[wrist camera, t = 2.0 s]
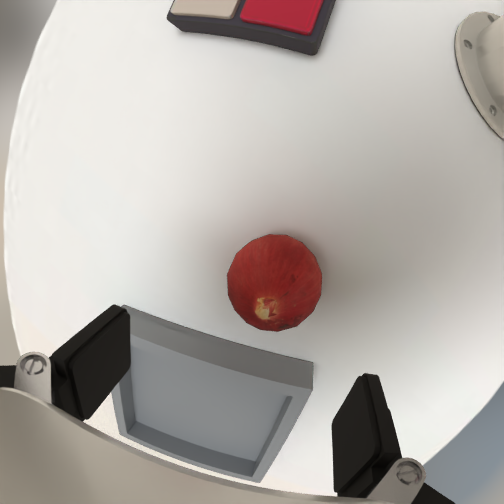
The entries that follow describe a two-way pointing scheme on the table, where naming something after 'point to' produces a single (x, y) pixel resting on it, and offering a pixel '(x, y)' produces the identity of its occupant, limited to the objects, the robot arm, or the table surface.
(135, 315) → the tray
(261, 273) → the onion
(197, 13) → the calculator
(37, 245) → the table surface
